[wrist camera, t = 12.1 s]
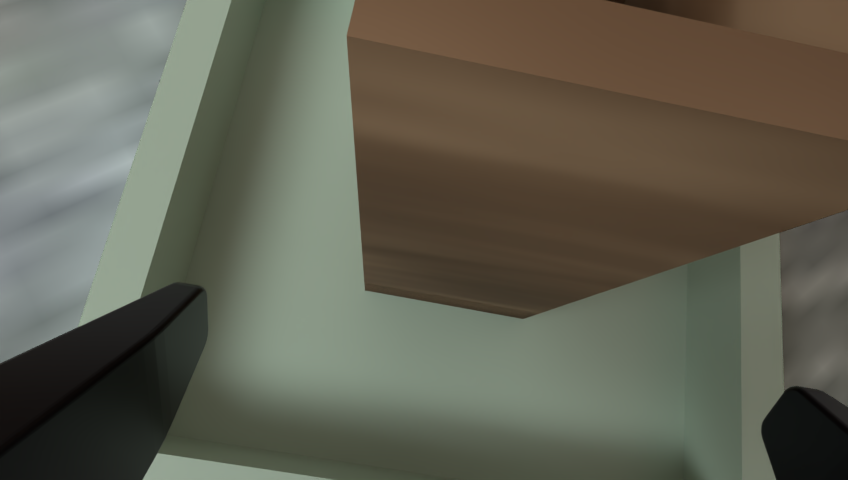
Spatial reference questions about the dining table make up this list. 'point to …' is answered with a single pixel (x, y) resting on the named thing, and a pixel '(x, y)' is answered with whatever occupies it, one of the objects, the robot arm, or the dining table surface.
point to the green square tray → (401, 303)
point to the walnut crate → (587, 139)
